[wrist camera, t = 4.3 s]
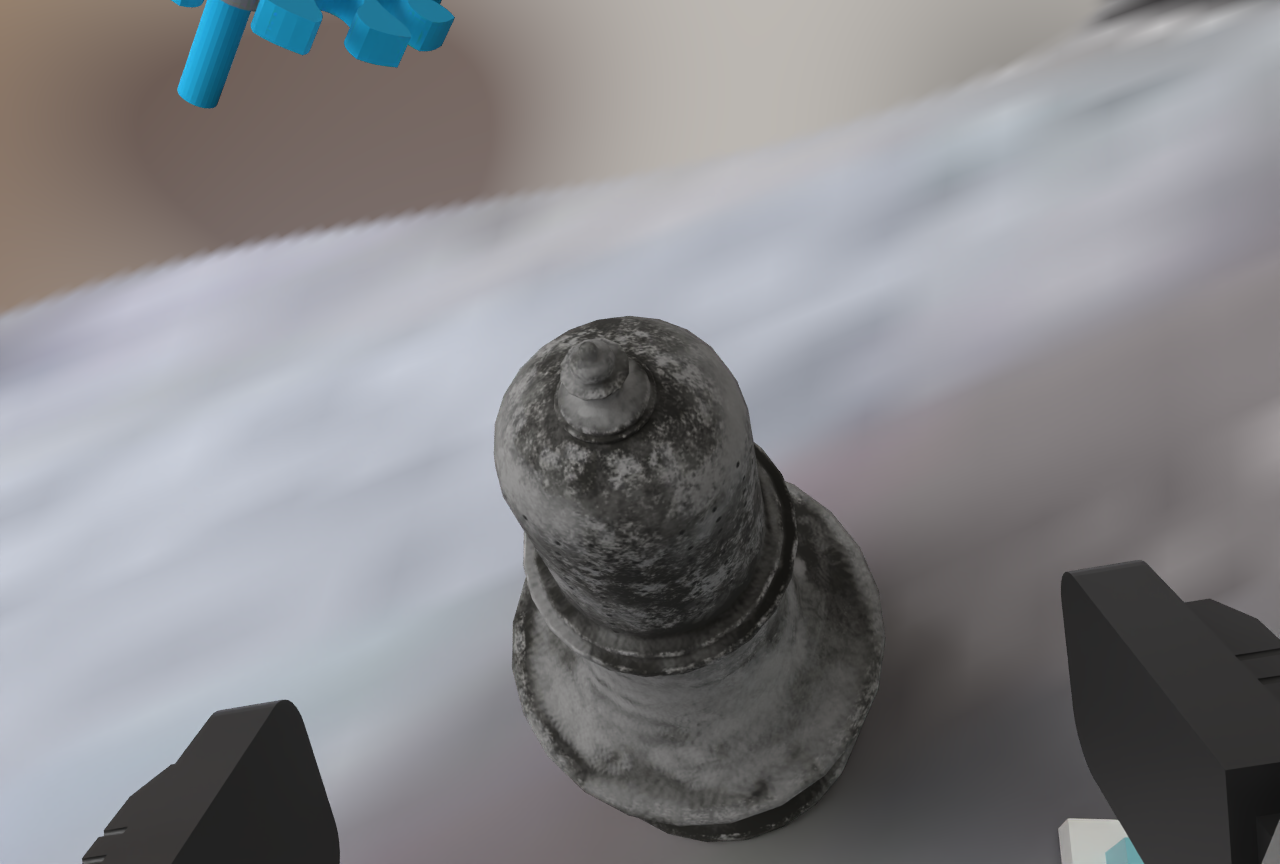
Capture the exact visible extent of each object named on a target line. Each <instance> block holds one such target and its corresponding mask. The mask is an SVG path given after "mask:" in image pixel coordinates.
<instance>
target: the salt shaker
mask: <svg viewBox="0 0 1280 864" xmlns="http://www.w3.org/2000/svg"><path fill="white" fill-rule="evenodd" d="M494 459H495V467H496V471H497V475H498V479H499V483H500V487H501V490H502V494H503V497H504V499H505V500H506V502H507V504H508V505H509V507H510V509H511V510H512V512H513V514H514V515H515V517H516V518H517V520H518V522H519V523H520V525H521V526H522V528H523V530H524V560H523V566H524V570H525V574H526V579H525V582H524V586H523V589H522V593H521V596H520V600H519V603H518V607H517V610H516V614H515V618H514V621H513V655H512V670H513V674H514V678H515V682H516V686H517V690H518V694H519V697H520V701H521V705H522V709H523V713H524V716H525V717H526V719H527V721H528V723H529V724H530V726H531V728H532V730H533V731H534V733H535V735H536V736H537V738H538V740H539V742H540V743H541V745H542V747H543V749H544V750H545V752H546V754H547V756H548V757H549V758H550V759H551V760H552V761H553V762H554V763H555V764H556V765H557V766H559V767H560V768H561V769H562V770H563V771H564V772H565V773H566V774H567V775H568V776H569V777H570V778H571V779H572V780H573V781H574V782H575V783H576V784H577V785H578V786H579V787H580V788H581V789H582V790H583V791H584V792H586V793H588V794H590V795H592V796H594V797H595V798H597V799H599V800H601V801H603V802H605V803H607V804H608V805H610V806H612V807H614V808H616V809H618V810H620V811H622V812H623V813H625V814H627V815H629V816H634V817H638V818H640V819H642V820H644V821H646V822H648V823H650V824H651V825H653V826H655V827H657V828H659V829H661V830H663V831H665V832H666V833H669V834H673V835H678V836H683V837H687V838H692V839H696V840H701V841H705V842H710V841H727V840H743V839H749V838H751V837H754V836H757V835H760V834H763V833H766V832H769V831H772V830H774V829H777V828H780V827H783V826H785V825H786V824H788V823H789V822H791V821H792V820H794V819H795V818H796V817H798V816H799V815H801V814H802V813H804V812H805V811H807V810H808V809H809V808H811V807H812V806H814V805H815V804H817V803H818V801H819V800H820V799H821V798H822V796H823V795H824V794H825V793H826V792H827V790H828V789H829V788H830V787H831V785H832V784H833V783H834V782H835V781H836V779H837V778H838V777H839V776H840V775H841V773H842V772H843V769H844V767H845V765H846V763H847V760H848V758H849V756H850V754H851V751H852V749H853V747H854V745H855V742H856V740H857V738H858V734H859V732H860V729H861V727H862V725H863V723H864V720H865V718H866V716H867V714H868V711H869V709H870V707H871V705H872V702H873V700H874V698H875V696H876V693H877V691H878V687H879V680H880V673H881V666H882V659H883V652H884V645H885V633H884V626H883V619H882V611H881V604H880V597H879V591H878V588H877V586H876V584H875V581H874V579H873V577H872V574H871V572H870V570H869V568H868V565H867V563H866V561H865V558H864V556H863V554H862V551H861V549H860V547H859V546H858V545H857V544H856V542H855V541H854V540H853V539H852V537H851V536H850V535H849V534H848V532H847V531H846V530H845V529H844V527H843V526H842V525H841V524H840V522H839V521H838V520H837V519H836V518H835V516H834V515H833V514H832V513H831V512H830V511H829V510H828V509H826V508H825V507H824V506H822V505H821V504H820V503H818V502H817V501H815V500H814V499H813V498H811V497H810V496H809V495H807V494H806V493H805V492H803V491H802V490H800V489H799V488H798V487H796V486H795V485H793V484H791V483H788V482H786V481H784V478H783V476H782V474H781V473H780V471H779V470H778V469H777V467H776V466H775V465H774V464H773V462H772V461H771V460H770V458H769V457H768V456H767V454H766V453H765V452H764V451H763V449H762V448H761V447H760V446H758V445H757V444H756V443H754V442H753V437H752V430H751V424H750V418H749V412H748V408H747V405H746V403H745V400H744V398H743V395H742V392H741V390H740V387H739V385H738V382H737V380H736V379H735V377H734V376H733V374H732V373H731V372H730V370H729V369H728V368H727V366H726V365H725V364H724V362H723V361H722V360H721V359H720V357H719V356H718V355H717V354H716V352H715V351H714V350H713V349H712V347H711V346H709V345H708V344H707V343H705V342H704V341H702V340H701V339H700V338H698V337H697V336H695V335H694V334H693V333H691V332H690V331H688V330H687V329H684V328H681V327H679V326H676V325H673V324H671V323H668V322H665V321H662V320H660V319H652V318H643V317H634V316H625V317H617V318H608V319H600V320H596V321H593V322H590V323H588V324H585V325H582V326H579V327H576V328H574V329H571V330H568V331H567V332H565V333H564V334H562V335H560V336H559V337H557V338H556V339H554V340H553V341H551V342H549V343H548V344H546V345H545V346H543V347H542V348H541V349H540V350H539V351H538V352H537V353H536V354H535V355H534V356H533V357H532V358H531V359H530V360H529V361H528V362H527V363H526V364H525V365H524V366H523V367H522V368H521V369H520V370H519V372H518V373H517V375H516V377H515V378H514V380H513V381H512V383H511V385H510V386H509V388H508V389H507V391H506V393H505V394H504V397H503V400H502V403H501V406H500V409H499V413H498V416H497V419H496V422H495V436H494Z"/></svg>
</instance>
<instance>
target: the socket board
mask: <svg viewBox="0 0 1280 864" xmlns="http://www.w3.org/2000/svg"><path fill="white" fill-rule="evenodd" d="M1058 831H1059V841H1060V851H1061V860H1062V864H1144V863H1143V861H1142V859H1141V858H1140V856H1139V854H1138V853H1137V851H1136V849H1135V847H1134V846H1133V844H1132V842H1131V841H1130V839H1129V837H1128V836H1127V834H1126V832H1125V830H1124V829H1123V827H1122V825H1121V824H1120V822H1119V820H1109V819H1075V818H1068V819H1067V820H1066V821H1065V822H1064V823H1063V824H1062V825H1061V826H1060V827H1059V828H1058Z"/></svg>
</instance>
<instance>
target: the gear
mask: <svg viewBox="0 0 1280 864" xmlns="http://www.w3.org/2000/svg"><path fill="white" fill-rule="evenodd" d="M172 1H173V2H175V3H176V4H178V5H179V6H184V7H198V6H200V5H201V4H202V3H203V1H204V0H172ZM441 1H442V0H207V2H206V6H205V9H204V11H203V14H202V17H201V20H200V23H199V26H198V29H197V32H196V35H195V38H194V41H193V44H192V47H191V50H190V53H189V56H188V59H187V62H186V65H185V68H184V71H183V74H182V77H181V80H180V83H179V86H178V93H179V95H180V96H181V97H182V98H183V99H184V100H186V101H187V102H189V103H191V104H193V105H195V106H198V107H202V108H214V107H216V105H217V104H218V101H219V98H220V95H221V93H222V90H223V87H224V84H225V81H226V79H227V76H228V73H229V70H230V68H231V65H232V62H233V59H234V56H235V54H236V51H237V48H238V46H239V42H240V40H241V37H242V34H243V32H244V29H245V26H246V23H247V21H248V18H249V15H250V12H251V11H255V14H254V17H253V20H252V23H251V29H252V31H253V32H254V33H255V34H257V35H259V36H260V37H262V38H264V39H266V40H268V41H270V42H272V43H274V44H276V45H278V46H281V47H283V48H285V49H288V50H290V51H293V52H295V53H298V54H301V55H305V54H307V53H308V52H309V51H310V49H311V46H312V43H313V41H314V39H315V36H316V34H317V31H318V29H319V26H320V24H321V21H322V18H323V15H322V13H321V11H325V12H328V13H331V14H332V15H335V16H337V17H338V18H340V19H341V20H343V21H344V22H345V23H346V24H347V25H348V26H349V27H350V29H349V31H348V34H347V36H346V38H345V41H344V45H345V47H346V49H347V50H348V52H349V53H351V55H352V56H354V57H355V58H356V59H358V60H361V61H364V62H367V63H371V64H375V65H381V66H388V67H398V65H399V63H400V61H401V58H402V56H403V54H404V52H405V50H406V47H407V45H409V46H411V47H413V48H414V49H417V50H418V51H432V50H434V49H437V48H439V47H440V46H442V44H443V42H444V40H445V37H446V35H447V33H448V31H449V29H450V27H451V25H452V23H453V20H454V18H455V17H454V16H453V15H452V14H451V13H450V12H449V11H448V10H447V9H446V8H444V7H443V6H441V5H440V3H441ZM320 10H321V11H320Z"/></svg>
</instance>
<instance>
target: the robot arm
mask: <svg viewBox="0 0 1280 864" xmlns="http://www.w3.org/2000/svg"><path fill="white" fill-rule="evenodd" d="M1061 599H1062V609H1063V618H1064V627H1065V637H1066V646H1067V655H1068V664H1069V674H1070V683H1071V692H1072V701H1073V710H1074V717H1075V723H1076V728H1077V732H1078V736H1079V740H1080V744H1081V747H1082V751H1083V754H1084V757H1085V760H1086V762H1087V765H1088V767H1089V769H1090V772H1091V774H1092V776H1093V778H1094V779H1095V781H1096V783H1097V784H1098V786H1099V788H1100V790H1101V791H1102V793H1103V795H1104V796H1105V798H1106V800H1107V801H1108V803H1109V805H1110V807H1111V808H1112V810H1113V812H1114V813H1115V815H1116V817H1117V819H1118V820H1119V822H1120V824H1121V825H1122V827H1123V829H1124V830H1125V832H1126V834H1127V836H1128V837H1129V839H1130V841H1131V842H1132V844H1133V846H1134V847H1135V849H1136V851H1137V853H1138V854H1139V856H1140V858H1141V859H1142V861H1143V863H1144V864H1280V640H1279V639H1278V638H1277V637H1276V636H1275V635H1274V634H1273V633H1272V632H1271V631H1270V630H1269V629H1268V628H1267V627H1265V626H1264V625H1263V624H1262V623H1261V622H1260V621H1259V620H1258V619H1256V618H1254V617H1252V616H1249V615H1247V614H1245V613H1242V612H1240V611H1238V610H1235V609H1233V608H1230V607H1228V606H1226V605H1223V604H1221V603H1219V602H1216V601H1214V600H1212V599H1205V600H1199V601H1193V602H1186V603H1184V602H1183V601H1182V600H1181V599H1180V598H1179V597H1178V596H1177V595H1176V594H1175V592H1174V591H1173V590H1172V589H1171V588H1170V587H1169V586H1168V585H1167V584H1166V583H1165V582H1164V581H1163V580H1162V579H1161V578H1160V577H1159V576H1158V575H1157V574H1156V573H1155V572H1154V571H1153V570H1152V569H1151V567H1150V566H1149V565H1148V564H1147V563H1145V562H1144V561H1142V560H1136V561H1130V562H1124V563H1118V564H1112V565H1106V566H1100V567H1094V568H1088V569H1082V570H1076V571H1069V572H1065V573H1064V574H1063V576H1062V581H1061ZM82 861H83V863H82V864H339V863H340V849H339V838H338V832H337V827H336V823H335V820H334V817H333V813H332V810H331V807H330V804H329V801H328V798H327V795H326V791H325V788H324V785H323V782H322V779H321V776H320V772H319V769H318V766H317V763H316V760H315V757H314V753H313V750H312V747H311V744H310V741H309V738H308V735H307V731H306V728H305V725H304V722H303V719H302V717H301V715H300V713H299V711H298V709H297V708H296V706H295V705H294V704H293V703H292V702H290V701H289V700H279V701H273V702H267V703H261V704H255V705H249V706H243V707H237V708H231V709H225V710H219V711H217V712H215V713H213V715H212V716H211V717H210V718H209V719H208V721H207V722H206V723H205V725H204V726H203V727H202V729H201V730H200V731H199V733H198V734H197V735H196V737H195V738H194V739H193V741H192V742H191V743H190V745H189V746H188V747H187V749H186V750H185V751H184V753H183V754H182V755H181V757H180V758H179V759H178V761H177V762H176V763H175V764H172V765H170V766H169V767H168V768H166V769H165V770H164V771H162V772H161V773H160V774H159V775H157V776H156V777H155V778H153V779H152V780H151V781H150V782H148V783H147V784H146V785H144V786H143V787H142V788H141V789H139V790H138V791H137V792H135V793H134V794H133V795H132V796H130V797H129V799H128V800H127V801H126V802H125V804H124V805H123V806H122V808H121V809H120V810H119V811H118V813H117V814H116V815H115V817H114V818H113V819H112V820H111V822H110V823H109V824H108V826H107V827H106V828H105V830H104V836H103V837H98V839H97V840H96V841H95V842H94V844H93V845H92V846H91V848H90V849H89V850H88V851H87V853H86V854H85V855H84V857H83V858H82Z"/></svg>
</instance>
